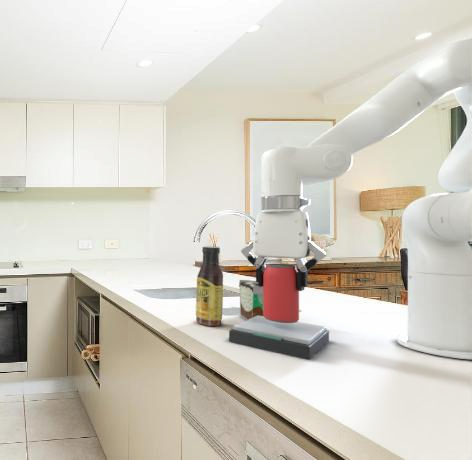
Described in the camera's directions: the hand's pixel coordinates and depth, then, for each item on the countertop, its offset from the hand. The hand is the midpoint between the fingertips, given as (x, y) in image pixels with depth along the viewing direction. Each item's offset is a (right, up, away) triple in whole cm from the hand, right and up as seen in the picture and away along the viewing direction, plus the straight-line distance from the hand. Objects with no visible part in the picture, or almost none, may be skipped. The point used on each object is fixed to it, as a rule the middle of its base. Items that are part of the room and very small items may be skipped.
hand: (280, 287), depth 77 cm
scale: (-1, -12, 0) cm, 12 cm away
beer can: (0, -7, 0) cm, 7 cm away
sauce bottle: (-9, -12, +14) cm, 21 cm away
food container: (+6, -12, +18) cm, 22 cm away
